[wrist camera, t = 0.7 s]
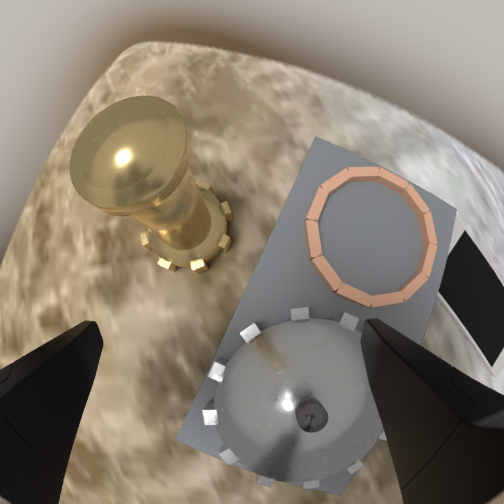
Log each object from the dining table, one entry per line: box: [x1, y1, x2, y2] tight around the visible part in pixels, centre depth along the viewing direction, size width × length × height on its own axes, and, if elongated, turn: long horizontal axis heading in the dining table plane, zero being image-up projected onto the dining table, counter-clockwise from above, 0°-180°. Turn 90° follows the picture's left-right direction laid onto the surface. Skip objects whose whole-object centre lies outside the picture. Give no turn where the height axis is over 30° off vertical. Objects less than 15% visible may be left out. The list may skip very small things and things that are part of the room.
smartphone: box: [437, 217, 504, 377], centre depth 21 cm, size 7×16×1 cm, turn 43°
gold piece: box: [70, 96, 233, 273], centre depth 17 cm, size 7×7×13 cm
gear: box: [203, 307, 387, 489], centre depth 17 cm, size 13×13×4 cm
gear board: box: [175, 136, 457, 495], centre depth 20 cm, size 26×14×2 cm, turn 155°
